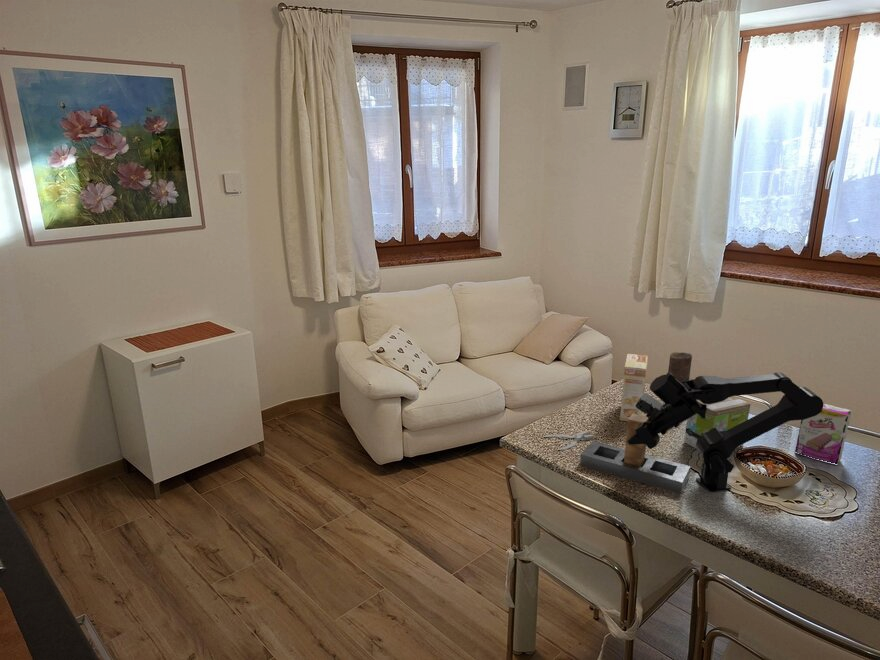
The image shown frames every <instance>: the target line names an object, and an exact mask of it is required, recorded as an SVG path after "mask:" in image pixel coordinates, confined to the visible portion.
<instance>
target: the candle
mask: <svg viewBox="0 0 880 660" xmlns="http://www.w3.org/2000/svg"><path fill="white" fill-rule="evenodd" d="M692 359H693V355H692V354H691V353H690V352H676V351H675V352H671V353H670V355H669V359H668V360H669V361H668V370H667V373H668V372H670V373H671V374H672V375H673V376H674V377H675V378H676V379H677V380H678V381H679V382H680V381H686V380H690V378H691V377H690V376H691V370H692V369H691V367H692Z"/></svg>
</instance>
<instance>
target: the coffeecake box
mask: <svg viewBox="0 0 880 660" xmlns="http://www.w3.org/2000/svg"><path fill="white" fill-rule="evenodd" d="M648 360H649V359H648V355H644V354H635V353H627V354H626V359H625V363H624V373H623V382H622V383H623V384H622V394H621V395H622V396H621V404H620V405H621V407H620V415H619V420H620V421H624V422H628V419H629V417H630V416H631V415H632V414H637V415H641V416H643V412H642V411H641V410H639V409H637V408H636V406H635V405H636V404H637V402H638V401H639V399H640V398H641V396H642V395H643V394H644V393H646V392H645V391H646V383H647V381H646V379H647V369H648Z"/></svg>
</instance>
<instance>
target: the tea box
mask: <svg viewBox="0 0 880 660" xmlns="http://www.w3.org/2000/svg"><path fill="white" fill-rule="evenodd" d="M697 401H698V402H699V403H701V404H704V403H702V402H701V401H700V400H697ZM706 405H707V411H706V414H705V418H704V419H703V418H702V417H701V416H700V415H699V414H696V415H694V416H692V417H690V418H689V419H687V420H686V425H685V431H684V439H683V442H684V443H685V444H688V445H689V446H691V447H693V448H694V449H696V450H697V448H696V442H697V439H698V438H699V437H701V436H702V435H701V433H706V432H708V431H709V430H711V429H712V428H717V430H718V431H726V430H729V429H731V428H733V427H735V426H737V425H739V424H740V423H742V422H744V421H746V420H748V419H749V414H750V410H751V403H750V402H748V401H745V400H742V399H740V398H739V397H736V396H732V397H729V398H727V399H726V400H724V401H721V402H717V403H713V404H706ZM740 446H742V447H744V444H742V445H740ZM740 446H738V447H737V448H741V447H740Z"/></svg>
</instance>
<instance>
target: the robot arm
mask: <svg viewBox="0 0 880 660" xmlns="http://www.w3.org/2000/svg"><path fill="white" fill-rule="evenodd" d="M649 390H650V392H651V393H653V394H654V395H655V396H656V397H657V398H658V399H659V400H660V401H662V402H663V403H664V404H663V403H661V402H660V401H659V400H657V399H656V398H655V397H653V396H651V395H650V394H648V393H646V392H644V394H643V395H642V396H641V398H640V399H639V401H638V402H637V404H636V405H635V406H636V408H637V409H639V410H641V411H642V413H643V414H646V415H645V417H648V419H649V422H648V423H646V422H644V423H642V424H641V423H640V424H639V426H638V427H637V429H636V434H635V435H634V436H633V437H631V438H630V439H629V440H628V443H629V444H630V445H632V444H646V448H648V449H649V450H652V449H653V448H656V447H657V446H658V444H659V443H660V440H661V436H660V434H661V435H662V436H665V435H666V434H667V433H668V431H669V430H672V429H673V428H674V429H677V428H678V427H679V426H681V424H682V423H683V422H686V421H687V419H689V418H690V417H692V416H694V415H696V414H699V415H700V416H701V417H702V418H703V419H704V418H705V414H706V411H707V405H706V404H713V403H717V402H721V401H724V400H726V399H727V398H729V397H732V396H734V397H736V396H739V397H740V396H747V395H757V394H769V393H777V392H778V393H779V392H780V393H783V394H784V395H783V396H782V397H781V398H780V400H779V401H778V402H777V404H776V405H774V406H772V407H770V408H768V409H766V410H764V411H762V412H760V413H758V414H756V415H754V416H752V417H751V418H748V420H746V421H744V422H742V423H740V424H739V425H737V426H735V427H733V428H731V429H729V430H726V431H718V430H717V428H712V429H711V430H709V431H708V432H706V433H701V435H702V436H701V437H699V438H698V439H697V442H696V448H697V449H696V448H695V449H696V450H697V452H698V453H699V454H700V456H701V458H702V459H703V460H702V465H701V470H700V477H696V478H695V481H696V482H698V483H699V484H700V485H701V486H703V487H704V489H706V490H708V491H709V492H712V493H713V492H715V493H716V492H719V491H727V490H732V486H731V485H730V484H728V478H729V473H731V472H732V471H733V469H734V468H735V464H733V463H732V462H731V460H730V459H729V458H731V456H732V455H733V453H735V451H736V449H738V448H739V447H738V446H740V445H742V444H743V445H744V444H745V443H747V442H748V443H749V442H750V441H752V440H754V439H756V438H758V437H760V436H762V435H764V434H766V433H768V432H770V431H772V430H774V429H776V428H777V427H780V426H782V425H784V424H785V423H788V422H791V421H801V420H804V419H807V418H810V417H813V416H816V415H818V414H820V413H821V412H822V408H823V404H824V401H823V399H822V398H821V397H820V396H819V395H817V394H816V393H815V392H813V390H811V389H809V388H807V387H806V386H799V385H797V384H796V383H794V382H793V381H792V379H790V377H788V376H787V375H786V374H784V373H783V372H778V371H777V372H774V373H769V374H767V373H766V374H758V375H750V376H741V377H731V378H726V377H720V376H717V375H716V376H714V375H699V376H697V377H695V379H689V380H686V381H680V382H679V381H678V380H677V379H676V378H675V377H674V376H673V375H672V374H671V373H670V372H668V371H667V373H666V374H662V375H660V376H657V377H655V379H653V380H652V382H651V383H650V385H649ZM697 400H700V401H701V402H702V403H704V404H701V403H699V402H698V401H697Z"/></svg>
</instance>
